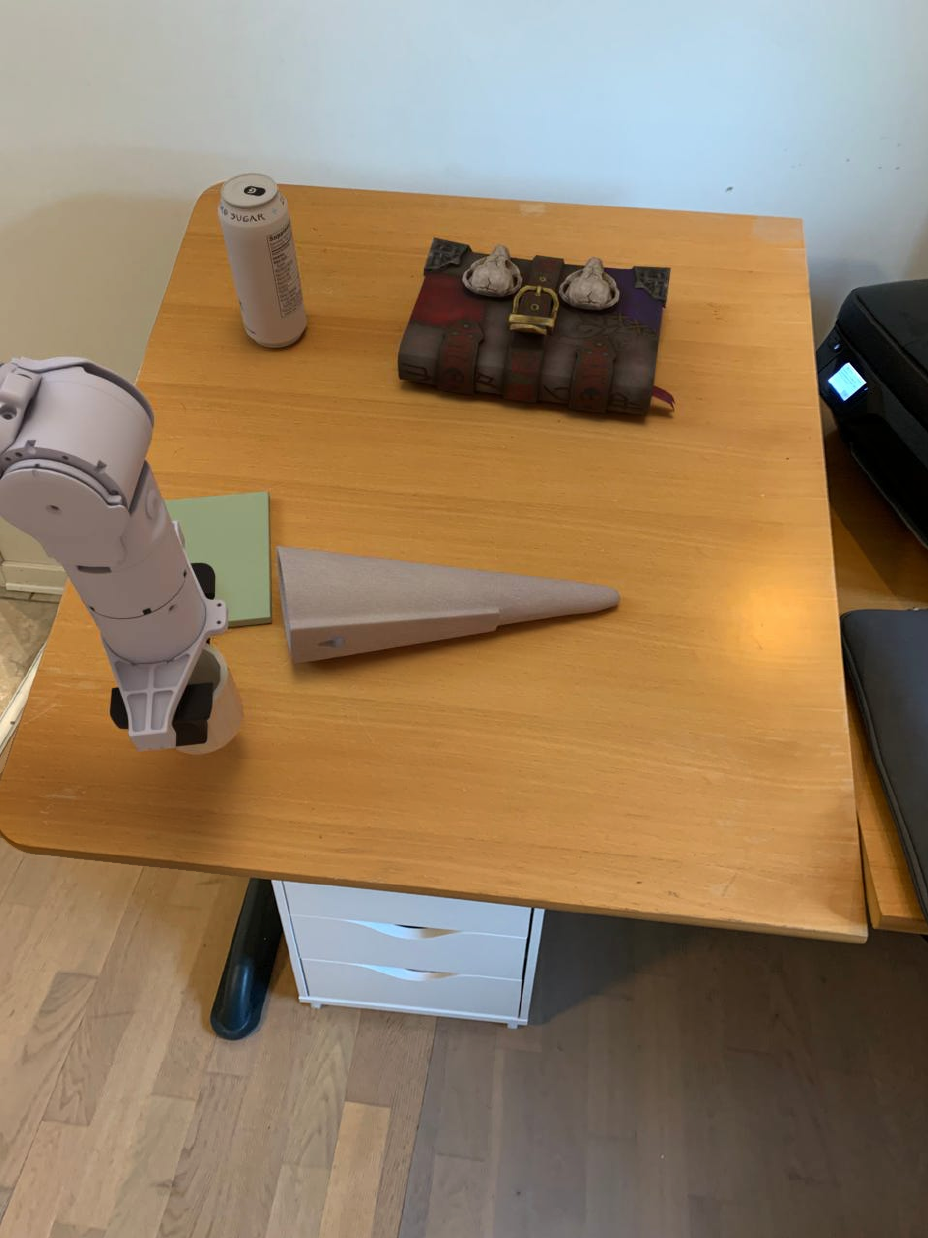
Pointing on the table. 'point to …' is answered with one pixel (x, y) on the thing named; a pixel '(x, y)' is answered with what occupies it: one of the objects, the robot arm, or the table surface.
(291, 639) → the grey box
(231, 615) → the scale
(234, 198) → the energy drink can
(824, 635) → the table surface
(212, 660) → the cup
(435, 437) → the table surface
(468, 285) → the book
